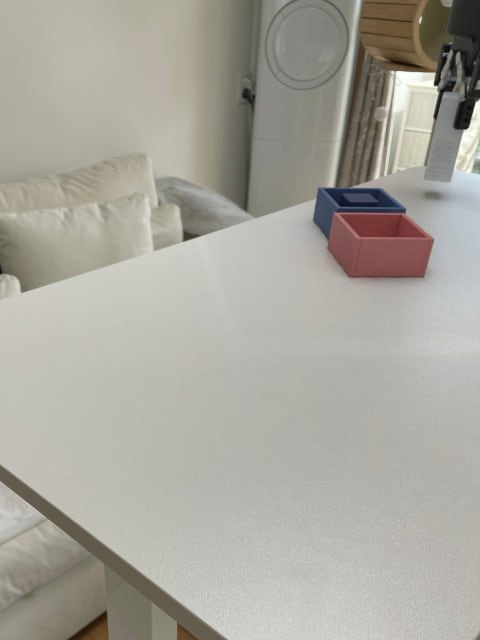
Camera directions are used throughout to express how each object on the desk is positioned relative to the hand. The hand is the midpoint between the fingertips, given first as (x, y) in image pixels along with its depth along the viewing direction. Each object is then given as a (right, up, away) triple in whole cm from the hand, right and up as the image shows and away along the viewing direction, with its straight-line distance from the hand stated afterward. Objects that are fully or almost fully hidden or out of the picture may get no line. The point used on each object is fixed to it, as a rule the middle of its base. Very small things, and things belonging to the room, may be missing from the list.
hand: (449, 124), depth 100 cm
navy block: (-18, -19, -10) cm, 28 cm away
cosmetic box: (0, -7, +5) cm, 8 cm away
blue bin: (-18, -19, -10) cm, 28 cm away
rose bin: (-18, -26, -19) cm, 37 cm away
